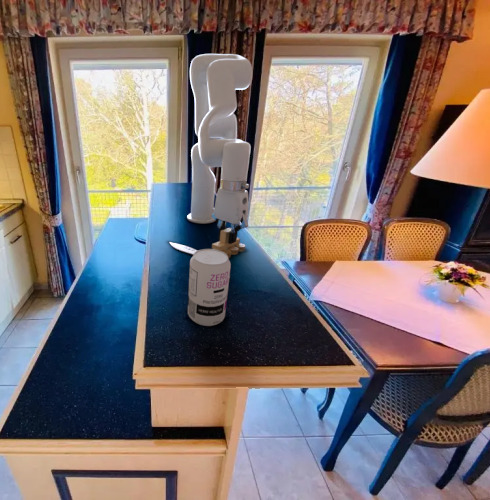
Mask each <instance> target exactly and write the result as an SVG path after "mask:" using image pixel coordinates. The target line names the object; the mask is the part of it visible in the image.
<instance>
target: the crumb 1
mask: <svg viewBox="0 0 490 500" xmlns="http://www.w3.org/2000/svg"><path fill="white" fill-rule="evenodd" d="M221 251H222V252H224V253H226V254H227V256H228V259H230V258H231V257H232V254H231V251H230V250H227V249H224V250H221Z"/></svg>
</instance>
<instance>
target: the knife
mask: <svg viewBox="0 0 490 500" xmlns="http://www.w3.org/2000/svg"><path fill="white" fill-rule="evenodd" d="M169 244H170V245H171V247H173V248H174V249H176V250H179V251H180V252H183V253H187V254H190V255H192V256H193V255H194V253H195V252H196V251H198V250H197V249H195V248H193V247H190V246H188V245H183V244H180V243H178V242H177V243H176V242H171V241H169ZM230 278H231V275H230V276H229V279H230Z"/></svg>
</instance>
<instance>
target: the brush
mask: <svg viewBox="0 0 490 500" xmlns="http://www.w3.org/2000/svg"><path fill="white" fill-rule="evenodd" d="M230 232H231V227H227V229H224V230H222V231H221V233H220V240H219V241H216V242H214V243H212V244H211V249H215V250H219V251H221V250H224V249H227V250H228V248H229V247H231V246H236V244H238V243H241V238H239V237H237V240H236V242H234V243H232V244H229V243H228V241H229V233H230Z"/></svg>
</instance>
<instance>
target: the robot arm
mask: <svg viewBox="0 0 490 500" xmlns="http://www.w3.org/2000/svg"><path fill="white" fill-rule="evenodd" d="M190 62H191V63H190V67H189V80H190V85H191V89H192V93H193V97H194V131H195V135H196V136H197V139H198V140H197V141H198V142H197V143H195V144H194V145H193V146H192V147H191V150H190V151H191V152H190V153H191V154H190V157H191V167H192V168H191V170H192V173H191V174H192V179H191V180H192V181H191V202H190V203H191V204H190V213H188V215H187V216H186V219H187V220H188V221H189V222H191V223H194V224H211V223H214V222H215V223H216V224H217V228H218V240H219V241H220V233H221V231H222V230H224V229H227V228H228V227H227V223H230V228H231V232H230V233H229V241H228V243H229V244H232V243H234V242H236V240H237V238H238V233H239V232H240V231H241V230H242V229H245V228H247V227H249V223H248V216H249V192H248V190H249V188H250V184H249V183H247V180H248V171H249V165H250V157H251V156H250V155H251V148H252V147H251V144H250V143H249V142H247V141H243V140H242V139H240V138H238V137H237V136H238V135H237V134H238V121H237V116H236V114H235V111H236V110H237V107H238V102H237V93H236V92H237V91H236V90H239V91H240V90H241V91H242V90H246V89H247V88H249V87H250V85H251V83H252V80H253V73H254V72H253V65H252V64H251V61H250V60H249V59H248V58H246V57H244V56H242V55H239V54H235V53H234V54H233V53H224V54H223V53H204V54H199V55H195V57H194V58H192V59H191V61H190ZM212 168H221V173H220V184H219V188H218V189H217V193H216V181H217V180H216V176H215V174H214V172H213V171H212V170H211V169H212ZM246 189H247V190H246ZM215 193H216V195H215ZM215 196H216V197H215Z"/></svg>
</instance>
